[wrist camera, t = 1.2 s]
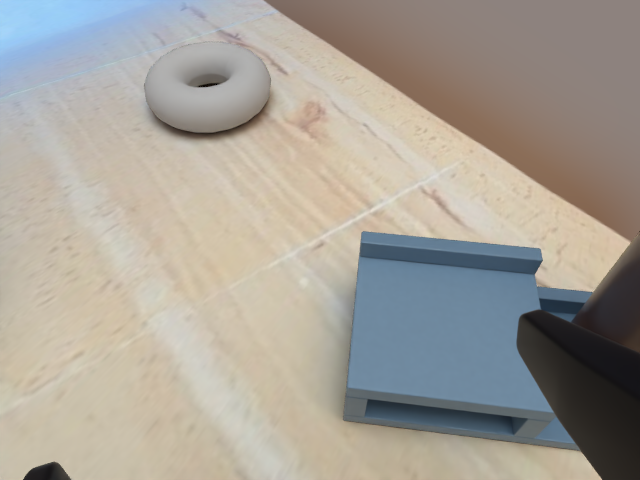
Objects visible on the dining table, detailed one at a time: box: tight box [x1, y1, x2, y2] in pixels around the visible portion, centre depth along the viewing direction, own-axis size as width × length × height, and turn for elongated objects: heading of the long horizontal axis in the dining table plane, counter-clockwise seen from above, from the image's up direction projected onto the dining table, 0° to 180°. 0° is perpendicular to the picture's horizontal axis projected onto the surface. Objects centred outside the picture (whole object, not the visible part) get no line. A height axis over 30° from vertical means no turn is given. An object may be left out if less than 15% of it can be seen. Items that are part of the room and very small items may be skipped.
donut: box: [144, 42, 271, 133], centre depth 40 cm, size 10×3×10 cm
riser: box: [343, 231, 593, 450], centre depth 25 cm, size 8×17×5 cm, turn 83°
